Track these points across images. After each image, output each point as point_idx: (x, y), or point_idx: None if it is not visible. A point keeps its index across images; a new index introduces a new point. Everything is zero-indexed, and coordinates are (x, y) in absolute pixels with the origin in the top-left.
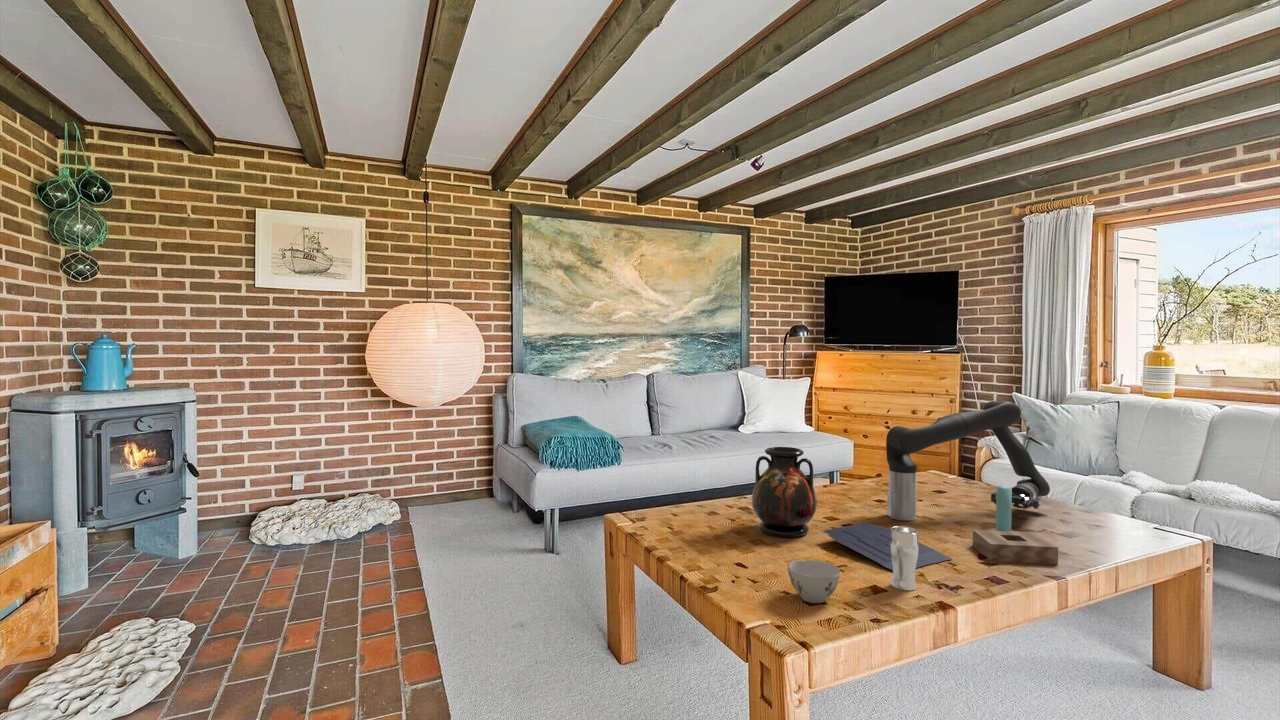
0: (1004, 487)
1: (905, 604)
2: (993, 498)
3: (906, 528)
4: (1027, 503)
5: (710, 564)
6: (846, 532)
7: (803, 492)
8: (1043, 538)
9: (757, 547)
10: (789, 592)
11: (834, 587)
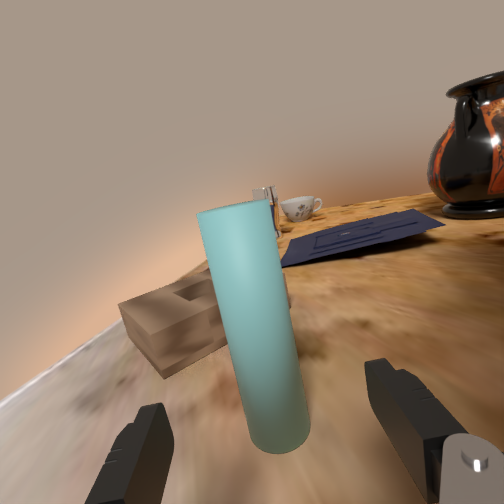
0: (229, 206)
1: None
2: (417, 377)
3: (266, 189)
4: (123, 446)
5: (388, 202)
6: (401, 217)
7: (433, 152)
8: (136, 317)
9: (420, 208)
10: (316, 216)
11: (283, 211)
